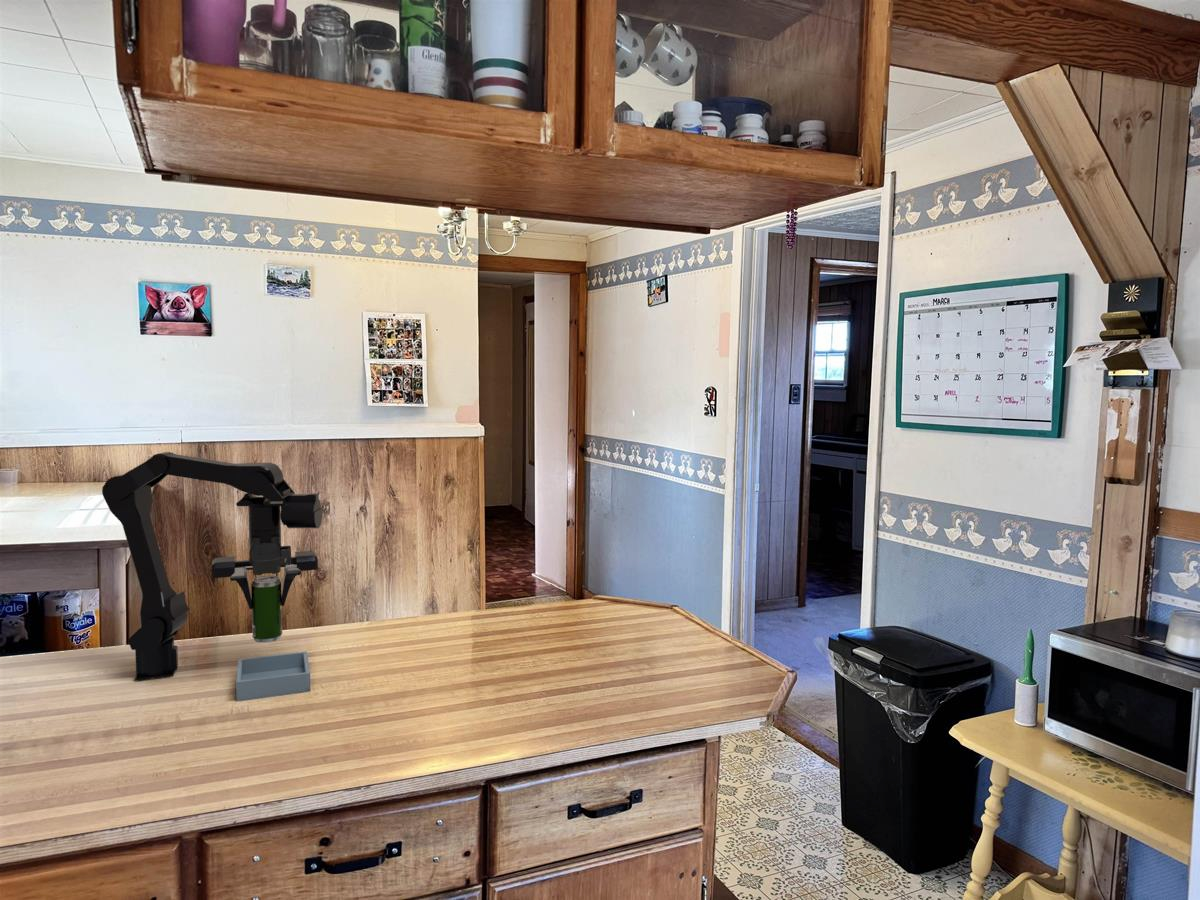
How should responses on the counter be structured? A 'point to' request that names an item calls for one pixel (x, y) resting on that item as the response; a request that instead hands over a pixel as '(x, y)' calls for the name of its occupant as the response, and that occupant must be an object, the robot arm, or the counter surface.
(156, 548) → the robot arm
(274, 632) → the beer can
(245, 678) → the box
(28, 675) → the counter surface
